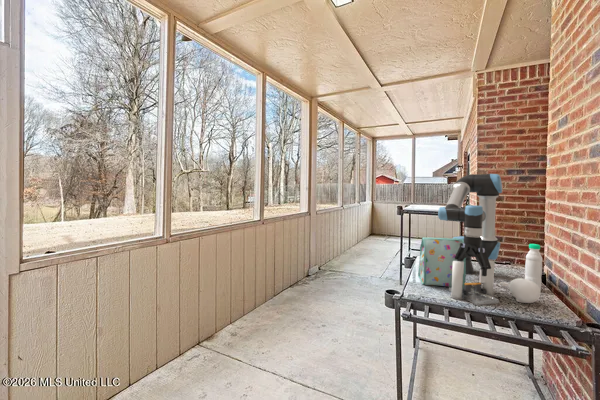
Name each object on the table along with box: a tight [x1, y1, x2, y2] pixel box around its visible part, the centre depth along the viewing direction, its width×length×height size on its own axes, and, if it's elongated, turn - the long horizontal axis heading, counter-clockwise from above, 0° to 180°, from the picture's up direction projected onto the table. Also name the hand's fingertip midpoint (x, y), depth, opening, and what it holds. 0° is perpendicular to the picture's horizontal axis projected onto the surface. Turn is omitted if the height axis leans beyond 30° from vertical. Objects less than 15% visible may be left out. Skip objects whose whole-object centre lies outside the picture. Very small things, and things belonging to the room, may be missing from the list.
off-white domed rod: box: [481, 259, 495, 298], centre depth 138 cm, size 5×5×18 cm
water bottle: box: [524, 243, 544, 292], centre depth 149 cm, size 7×7×25 cm
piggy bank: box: [499, 277, 542, 304], centre depth 133 cm, size 12×12×15 cm
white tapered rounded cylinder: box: [449, 261, 464, 301], centre depth 135 cm, size 5×5×18 cm
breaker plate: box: [448, 287, 500, 306], centre depth 137 cm, size 18×12×4 cm, turn 11°
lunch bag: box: [417, 236, 467, 288], centre depth 156 cm, size 23×16×27 cm
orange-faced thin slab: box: [464, 282, 482, 292], centre depth 137 cm, size 1×9×4 cm, turn 101°
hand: (471, 277), depth 138 cm, fingers open, 13 cm apart
